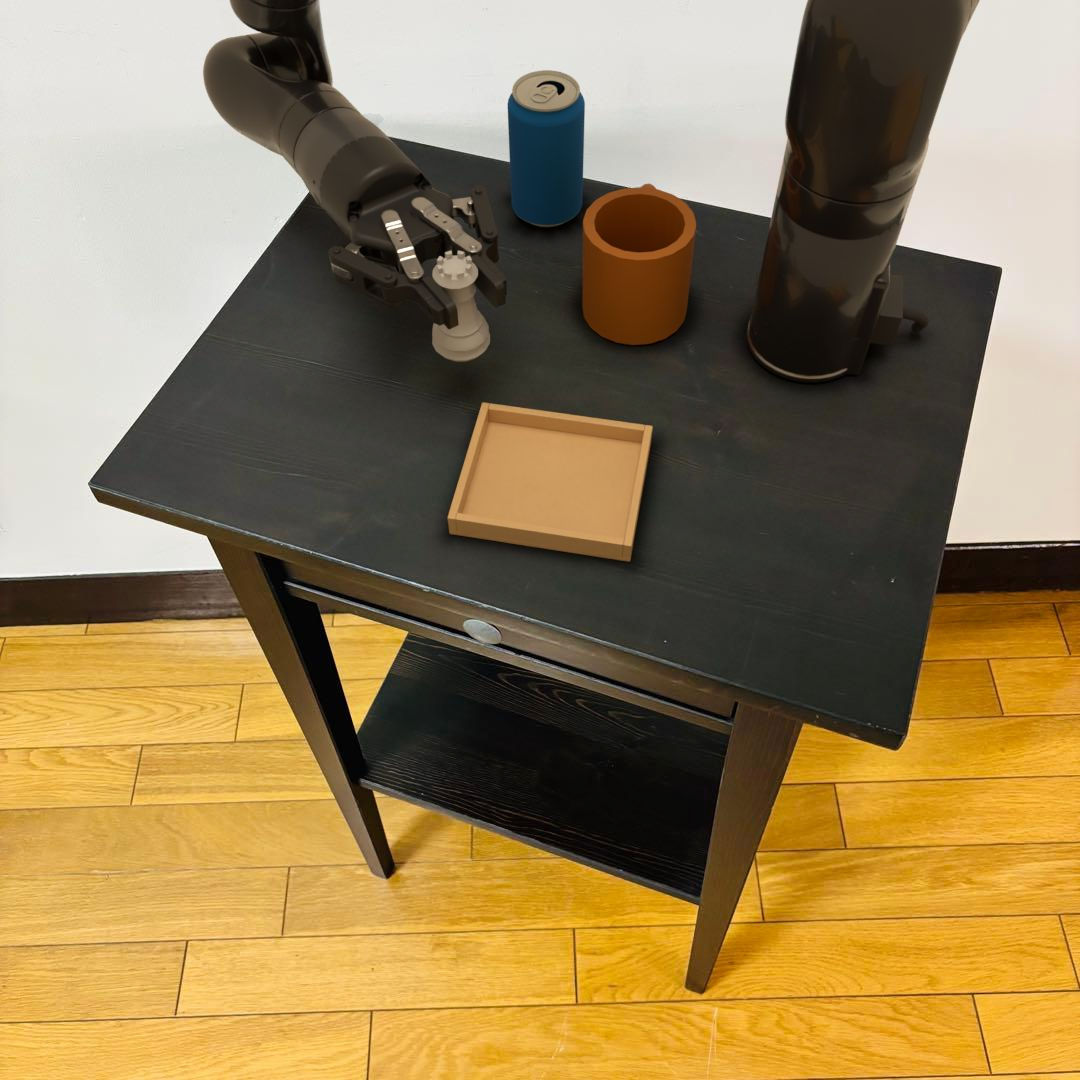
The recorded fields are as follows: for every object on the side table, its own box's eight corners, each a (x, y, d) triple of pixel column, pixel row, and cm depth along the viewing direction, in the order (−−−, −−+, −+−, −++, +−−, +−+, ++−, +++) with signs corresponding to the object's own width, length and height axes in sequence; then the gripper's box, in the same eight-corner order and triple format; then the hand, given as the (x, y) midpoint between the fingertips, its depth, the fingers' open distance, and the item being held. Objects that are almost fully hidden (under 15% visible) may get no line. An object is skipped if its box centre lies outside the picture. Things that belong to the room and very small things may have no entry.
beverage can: (595, 202, 98) (599, 81, 88) (558, 241, 95) (558, 121, 85) (536, 179, 100) (534, 59, 90) (498, 216, 97) (491, 96, 87)
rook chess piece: (502, 337, 82) (498, 255, 75) (469, 373, 80) (462, 292, 73) (454, 315, 83) (446, 233, 76) (420, 350, 81) (409, 269, 74)
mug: (711, 266, 93) (724, 178, 86) (667, 358, 87) (677, 272, 79) (614, 241, 95) (619, 153, 88) (565, 329, 89) (565, 242, 81)
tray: (651, 442, 82) (653, 425, 80) (630, 562, 75) (631, 546, 74) (483, 419, 83) (482, 401, 82) (449, 534, 77) (447, 517, 75)
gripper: (268, 170, 78) (383, 307, 70) (434, 105, 82) (561, 227, 74) (289, 251, 84) (396, 385, 76) (442, 186, 88) (560, 307, 80)
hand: (477, 306), depth 75 cm, fingers closed on rook chess piece, 3 cm apart
